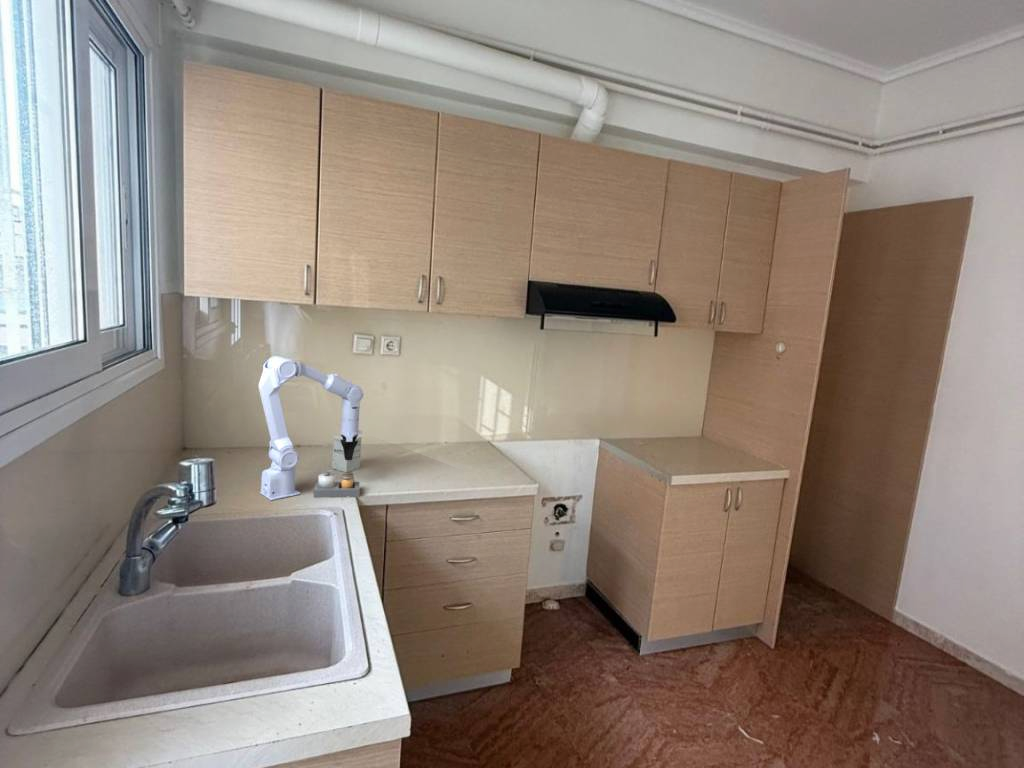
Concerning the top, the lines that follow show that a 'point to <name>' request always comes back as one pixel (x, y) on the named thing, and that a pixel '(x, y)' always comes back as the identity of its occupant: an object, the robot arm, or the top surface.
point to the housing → (333, 487)
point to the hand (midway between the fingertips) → (348, 456)
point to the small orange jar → (347, 480)
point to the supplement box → (339, 458)
